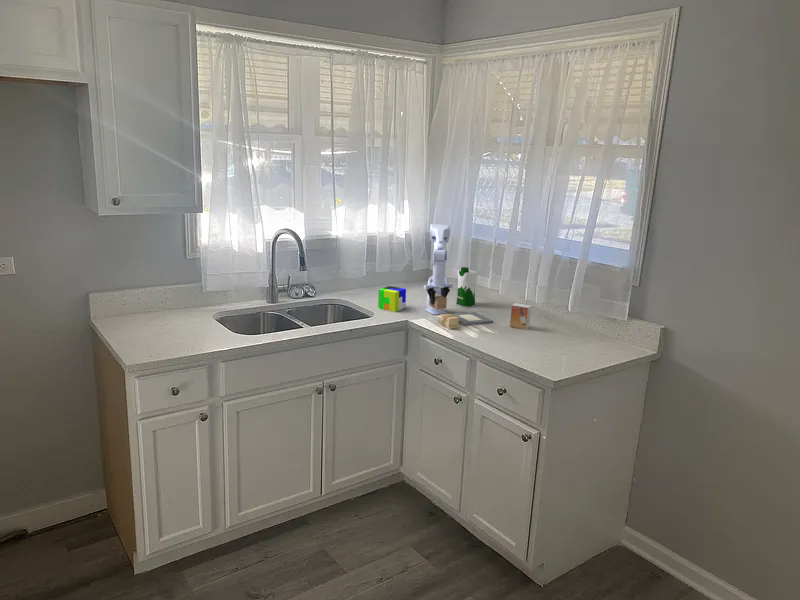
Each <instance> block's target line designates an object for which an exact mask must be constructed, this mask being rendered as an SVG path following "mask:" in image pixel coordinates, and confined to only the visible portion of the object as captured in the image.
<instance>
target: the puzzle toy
mask: <svg viewBox="0 0 800 600" xmlns="http://www.w3.org/2000/svg"><path fill="white" fill-rule="evenodd" d="M377 295H378V296H377V299H378V300H377V309H378V308H380V309H379V310H382V309H385V310H384V311H387V310H389V311H388V312H392V311H393V312H392V313H396V312H398V310H399V311H402V310H404V309H406V302H407V301H406V300H407V299H406V297H407V288H403V287H397V286H393V285H392V286H391V285H389V286H385V287H382V288H379V289H378V293H377ZM403 308H404V309H403Z"/></svg>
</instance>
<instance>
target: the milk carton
mask: <svg viewBox="0 0 800 600" xmlns="http://www.w3.org/2000/svg"><path fill="white" fill-rule="evenodd" d="M478 274H479V272H478V271H475V270H470V268H469V267H466V266H462V267H460V270H457V278H458V279H457V292H456V293H457V295H456V296H457V297H456V303H455V304H456V305H458V304H459V305H458V306H460V305H462V306H461V307H463V306H464V308H466V307H465V306H469V307H473V306H472V305H475V306H476V288H477V287H476V284H477V277H478Z"/></svg>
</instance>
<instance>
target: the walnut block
mask: <svg viewBox="0 0 800 600" xmlns="http://www.w3.org/2000/svg"><path fill="white" fill-rule="evenodd" d="M447 299H448V298H447V297H446V298H445V297H443V296H441V295H439V294H435V298H434V304H431V302H430V297H429V306H431V307H433V308H435V309H444V310H445V309H447Z"/></svg>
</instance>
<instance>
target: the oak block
mask: <svg viewBox="0 0 800 600" xmlns="http://www.w3.org/2000/svg"><path fill="white" fill-rule="evenodd" d="M452 314H453V313H445V314H439V315H440V319H439V320H440V321H439V325H441V326H442V327H444V328H446V329H447V328H448V330H452V328H455V329H459V323H458V322H459V318H458V317H456V316H454V315H452Z"/></svg>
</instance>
